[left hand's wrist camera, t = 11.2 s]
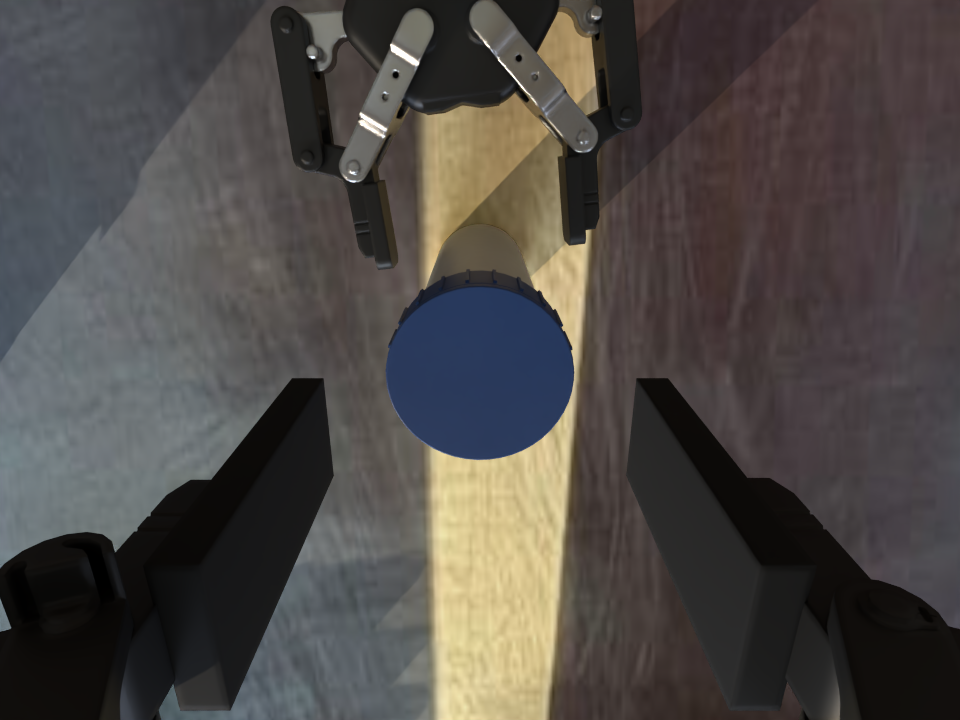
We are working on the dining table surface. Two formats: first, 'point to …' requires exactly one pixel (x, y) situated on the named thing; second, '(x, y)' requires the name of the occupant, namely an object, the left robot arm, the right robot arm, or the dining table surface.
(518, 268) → the white bottle
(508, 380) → the lid
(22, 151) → the dining table surface
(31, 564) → the left robot arm
